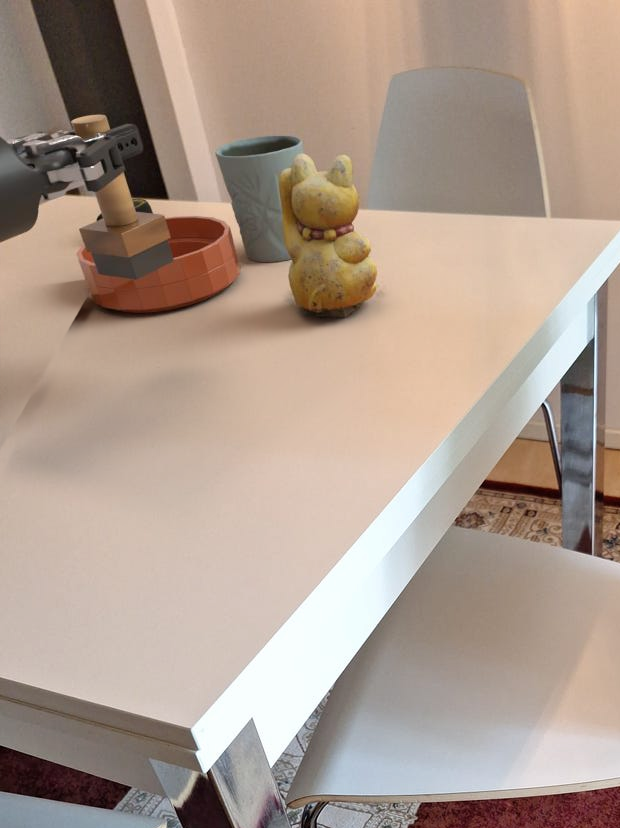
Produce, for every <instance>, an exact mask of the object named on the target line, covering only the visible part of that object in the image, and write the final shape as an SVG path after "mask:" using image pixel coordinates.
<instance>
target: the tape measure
mask: <svg viewBox="0 0 620 828" xmlns="http://www.w3.org/2000/svg"><path fill="white" fill-rule="evenodd" d="M132 201H133V204H134V208H135V211H136V212H143V213H152V214H154V212H153V208H152V206H151V204H149V201H147V200H146V199H142V198H132ZM101 219H103V216H102V213H101V212H100V214H99V215H98V216H97V217H96V221H98V220H101Z"/></svg>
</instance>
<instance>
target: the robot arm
mask: <svg viewBox="0 0 620 828" xmlns="http://www.w3.org/2000/svg"><path fill="white" fill-rule="evenodd" d="M139 130H140V129H139V128H138V126H137V125H136V124H135V123H125V124H123V125H120V126H117V127H114V128H110V130H108V131H105V132H102V133H94V135H91V136H88V137H84V138H81V137H79V136H76V135H75V132H74V130H71V131H66V130H63V129H62V130H57V131H56V132H54V133H51V134H50V133H48V132H44V131H37V132H35V133H32V134H28V135H24V136H18V137H14V138H9V139H4V138H3V137H2V136H0V244H1V243H3V242H5V241H8V240H11V239H13V238H15V237H18V236H20V235H23V234H26V233H28V232H29V231H31V230H32V229H33V228H34V226H35V225H36V222H37V220H38V217H39V208H40V202H41V198H42V200H43V201H50V200H51V201H52V200H55V199H58V198H62V197H64V196H65V195H66V194H67V192H69V191H71V190H74V189H77V188H80V187H83V186H85V188H86V191H87V192H92V193H95V192H97V191H99V190H100V189H102V188H104V187H105V186H106V185H108V184H109V183H110V182H111V181H113V180H114V179H115V178H117V177H118V176H119V175H120V174H122V173H123V172H124V173H125V172H126V167H125V163H124V162H123V161H124V160H128V159H130V158H133V157H135V156H138V155H141V154H142V153H143V152H144V144H143V141H142V137H141V134H140V131H139ZM87 147H88V148H87Z"/></svg>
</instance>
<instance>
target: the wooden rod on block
mask: <svg viewBox="0 0 620 828" xmlns="http://www.w3.org/2000/svg"><path fill="white" fill-rule="evenodd" d="M70 123H71V126H72V130H73V131H74V132H75V135H76V136H79V137H81V138H84V137H88V136H91V135H94V133H102V132H105V131H108V130H111V128H110V124H109V120H108V118H107V116H106V115H105V114H90V115H85V116H81V117H77V118H74V119H72V120H71V121H70ZM87 148H88V147H87ZM94 195H95V198H96V201H97V204H98V207H99V210H100V214H101V213H102V216H103V219H101V220H98V221H97V220H95V221H94V222H91V223H89V224H87V225H84V226H82V227H80V228H78V230H79V233H80V237H81V239H82V243H83V244H84V245H85V248H86V250H87V252H90V253H91V254H92V257H93V260H94V263H95V266H96V269H97V271H98V274H100V275H106V276H113V277H120V278H127V279H133V280H137V279H139V278H141V277H143V276H145V275H147V274H149V273H151V272H153V271H155V270H157V269H159V268H161V267H163V266H165V265H167V264H169V263H171V262H173V261H174V259H173V256H172V252H171V249H170V246H169V242H168V239H170V238H171V237H170V234H169V230H168V227H167V223H166V220H165V218H166V216H165V215H164V214H160V213H153V214H152V213H143V212H136V211H135V208H134V204H133V201H132V199H133V198H132V194H131V192H130V189H129V185H128V183H127V178H126V176H125V171H124V172H123V173H122V174H120V175H119V176H118V177H117V178H115V179H114V180H113V181H111V182H110V183H109V184H108V185H106V186H105V187H104V188H102V189H100V190H99V191H97V192H94Z"/></svg>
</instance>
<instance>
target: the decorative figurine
mask: <svg viewBox="0 0 620 828" xmlns="http://www.w3.org/2000/svg"><path fill="white" fill-rule="evenodd" d="M353 165H354V164H353V161H352V159H351V158H350V156H348V155H347V154H340V155H338V156H336V157H335V158H334V159H333V161H332V162H331V164H330V165H329V168H328V170H327V171H318V170H317V168H316V165H315V162H314V161H313V159H312V158H311V157H310V156H309V155H308V154H305V153H304V152H303V153H301V154H298V155H297V156H295V158H294V159H293V163H292V167H291V168H287V169H284V170H283V171H282V172H281V173H280V175H279V192H280V199H281V207H282V226H283V236H284V241H285V245H286V249H287V251H288V253H289V255H290V257H291V259H290V260H291V263H290V265H289V268H288V275H287V276H288V282H289V287H290V290H291V293H292V296H293V298H294V302H295V304H296V305H297V306H298V307H300V308H303V309H304V316H307V317H308V316H309V317H310V316H314V317H315V316H317V317H331V318H347V316H349V315H350V314H351V313H352V312H353V311H354V310H355V309H359V308H360V307H361V305H363V304H364V302H366V301H368V300H370V299H371V298H372V297H373V296H374V294H375V293H376V291H377V287H378V285H377V283H376V280H377V276H378V268H377V264H376V262H375V261H374V259H373V258H372V257H371V256H369V255H370V253H371V251H372V247H371V243H370V240H369V239H368V238H366V237H365V236H364V235H363V236H362V235H360V233H357V232H356V231H355V230H354V229H355V226H354V224H353V222H354V220H355V219H356V218H357V216H358V214H359V213H358V212H359V208H360V195H359V194H358V192H357V189H356V187H355V186H354V182H353V181H354V166H353Z"/></svg>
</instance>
